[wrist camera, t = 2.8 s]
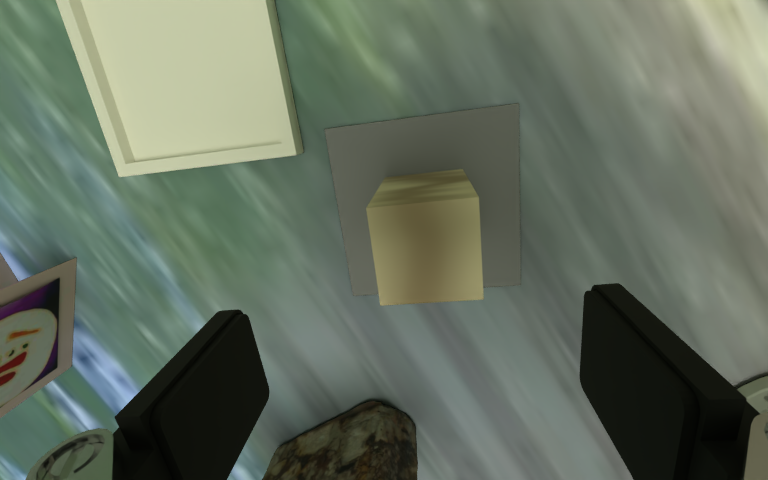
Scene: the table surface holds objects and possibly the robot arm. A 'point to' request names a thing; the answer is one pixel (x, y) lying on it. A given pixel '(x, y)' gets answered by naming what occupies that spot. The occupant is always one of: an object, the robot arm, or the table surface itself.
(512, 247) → the tile
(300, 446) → the stone block
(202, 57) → the cream tray
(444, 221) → the beech block
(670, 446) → the robot arm
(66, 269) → the greeting card
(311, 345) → the table surface
